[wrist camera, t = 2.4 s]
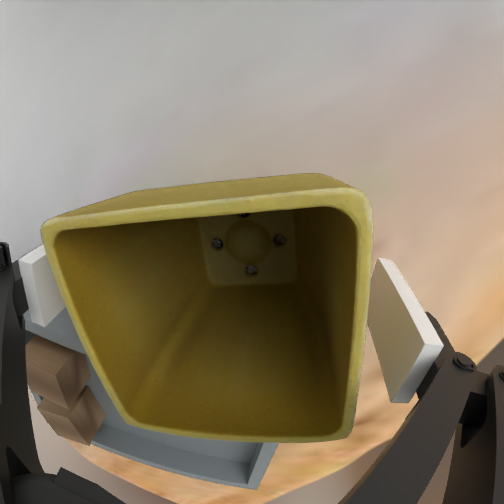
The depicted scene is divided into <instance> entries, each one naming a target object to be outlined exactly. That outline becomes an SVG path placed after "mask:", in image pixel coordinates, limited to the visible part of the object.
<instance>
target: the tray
mask: <svg viewBox="0 0 504 504" xmlns="http://www.w3.org/2000/svg"><path fill="white" fill-rule="evenodd" d="M23 315H24V319H25V346H26V345H27V344H28V342H29V341H30V340H31V339H32V338H33V337H34V336H35V335H36V334H37V335H39V336H41V337H43V338H46V339H48V340H50V341H53V342H55V343H58V344H60V345H62V346H65V347H67V348H70V349H72V350H75V351H77V352H80V353H83V354H85V355H86V359H87V363H88V367H89V371H90V374H91V377H90V379H89V380H88V382H87V383H86V386H89V387H90V389H91V391H92V392H93V394H94V396H95V398H96V399H97V401H98V403H99V404H100V406H101V407H102V409H103V411H104V412H105V414H106V416H105V418H104V420H103V422H102V423H101V425H100V427H99V429H98V431H97V433H96V434H95V436H94V438H93V440H92V442H91V444H93V445H95V446H98V447H100V448H102V449H105V450H107V451H110V452H112V453H115V454H118V455H120V456H123V457H126V458H128V459H131V460H134V461H137V462H140V463H143V464H146V465H149V466H152V467H156V468H159V469H162V470H166V471H169V472H173V473H176V474H180V475H184V476H188V477H192V478H196V479H200V480H205V481H209V482H214V483H219V484H224V485H229V486H235V487H241V488H247V489H254V490H257V488H258V486H259V484H260V482H261V480H262V478H263V476H264V474H265V471H266V469H267V467H268V465H269V463H270V461H271V459H272V457H273V454H274V452H275V450H276V448H277V446H278V443H259V442H238V441H223V440H212V439H202V438H193V437H185V436H179V435H172V434H166V433H161V432H156V431H151V430H146V429H142V428H139V427H135V426H132V425H129V424H127V423H126V422H125V421H124V419H123V418H122V416H121V415H120V413H119V412H118V411H117V409H116V407H115V405H114V404H113V402H112V400H111V398H110V397H109V395H108V393H107V392H106V390H105V388H104V386H103V384H102V382H101V380H100V378H99V376H98V375H97V373H96V371H95V369H94V367H93V365H92V363H91V361H90V358H89V357H88V355H87V353H86V351H85V349H84V347H83V345H82V342H81V340H80V338H79V336H78V334H77V332H76V329H75V327H74V325H73V322H72V320H71V318H70V315H69V313H68V311H67V308H66V307H65V308H64V309H63V310H62V311H61V312H60V313H59V314H58V315H57V316H56V317H55V318H54V319H53V320H52V321H51V322H50V323H49V324H48V325H47V326H46V327H43V326H41V325H38V324H36V323H34V322H32V320H31V316H30V313H29V309H28V310H27V311H26V312H25V313H24V314H23ZM27 383H28V382H27ZM29 388H30V387H29ZM30 390H31V389H30ZM31 392H32V394H33V396H34V398H35V400H36V402H37V404H38V405H39V404H40V402H41V401H42V400H43V398H44V397H42V396H40V395H38V394H36V393H34V392H33V391H31ZM47 423H48V422H47Z"/></svg>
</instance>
